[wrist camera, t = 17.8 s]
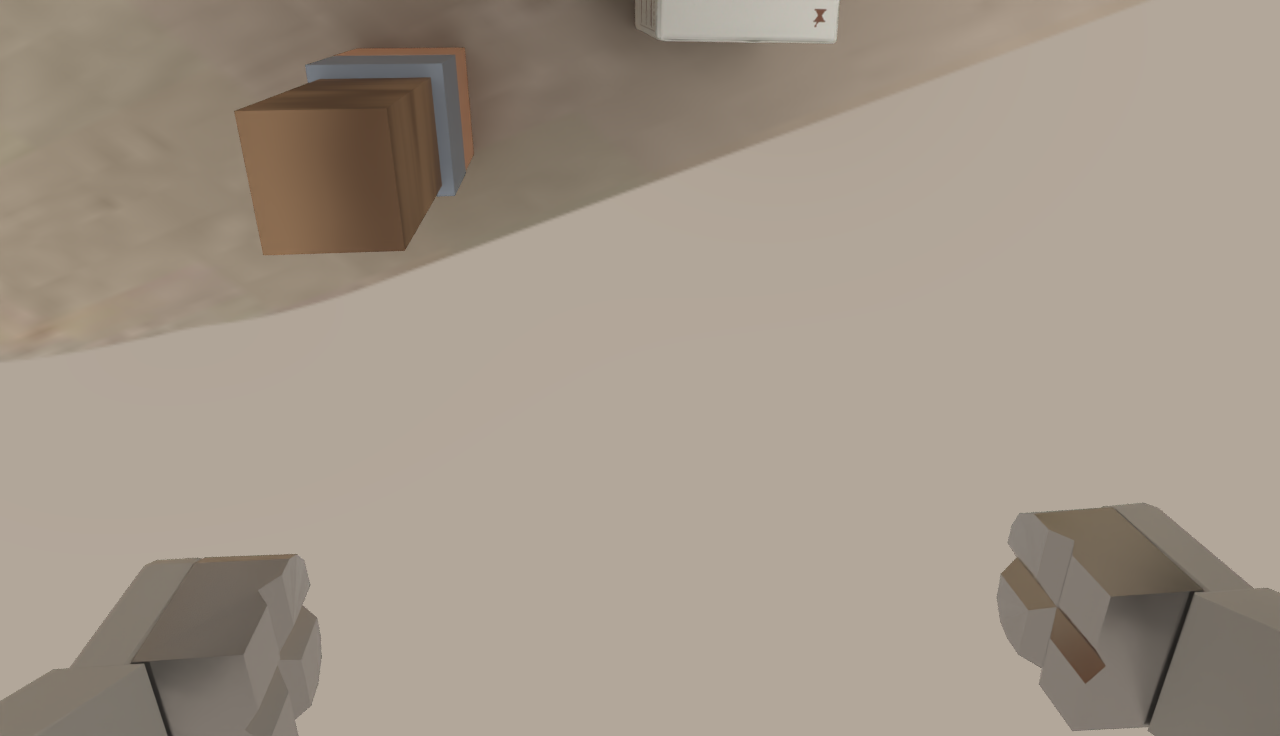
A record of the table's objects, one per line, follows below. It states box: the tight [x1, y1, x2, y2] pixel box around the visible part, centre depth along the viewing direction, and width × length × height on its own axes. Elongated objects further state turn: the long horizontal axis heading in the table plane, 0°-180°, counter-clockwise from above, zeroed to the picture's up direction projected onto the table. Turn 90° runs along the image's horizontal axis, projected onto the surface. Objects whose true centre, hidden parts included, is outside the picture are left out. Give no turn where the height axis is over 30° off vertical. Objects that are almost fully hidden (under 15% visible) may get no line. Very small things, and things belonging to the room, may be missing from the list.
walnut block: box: [234, 77, 442, 255], centre depth 31 cm, size 4×4×10 cm
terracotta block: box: [334, 48, 474, 170], centre depth 42 cm, size 6×6×5 cm
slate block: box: [305, 55, 466, 196], centre depth 37 cm, size 6×6×5 cm
